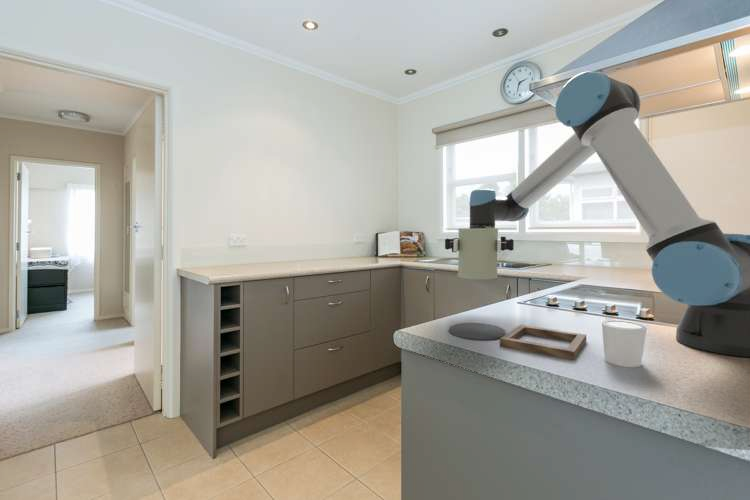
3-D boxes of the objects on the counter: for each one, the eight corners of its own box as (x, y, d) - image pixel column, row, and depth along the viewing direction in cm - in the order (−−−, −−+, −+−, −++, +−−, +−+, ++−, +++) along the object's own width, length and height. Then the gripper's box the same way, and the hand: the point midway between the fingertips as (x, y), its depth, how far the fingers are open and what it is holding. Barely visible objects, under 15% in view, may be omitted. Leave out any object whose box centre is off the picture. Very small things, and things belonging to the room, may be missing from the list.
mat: (513, 330, 89) (513, 328, 89) (493, 343, 79) (493, 341, 79) (463, 322, 97) (463, 320, 97) (439, 333, 87) (439, 331, 87)
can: (500, 280, 82) (501, 226, 81) (457, 279, 84) (458, 226, 83) (495, 274, 91) (496, 226, 90) (457, 274, 93) (457, 226, 92)
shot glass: (653, 369, 64) (655, 330, 64) (611, 367, 66) (612, 328, 65) (632, 356, 71) (634, 320, 71) (594, 354, 72) (595, 319, 72)
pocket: (586, 341, 80) (586, 334, 80) (573, 360, 69) (574, 351, 69) (520, 331, 89) (520, 324, 89) (499, 345, 78) (499, 338, 78)
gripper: (521, 256, 101) (528, 263, 80) (442, 254, 108) (429, 261, 86) (521, 228, 101) (528, 229, 79) (442, 229, 107) (429, 229, 86)
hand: (476, 245), depth 83 cm, fingers closed on can, 9 cm apart
